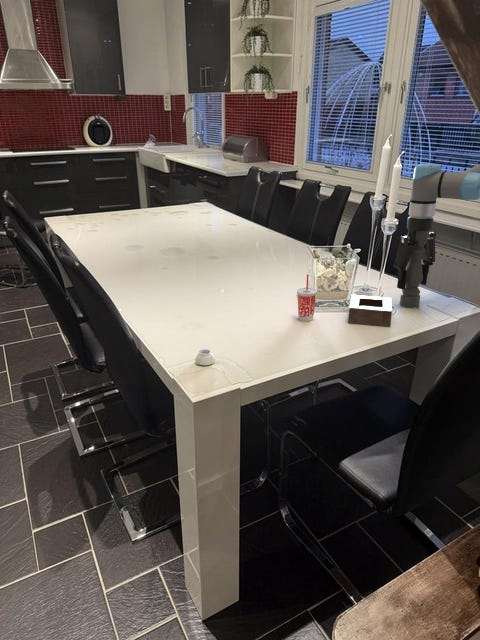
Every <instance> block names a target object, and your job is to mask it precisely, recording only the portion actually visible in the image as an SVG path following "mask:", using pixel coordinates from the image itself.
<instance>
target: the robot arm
mask: <svg viewBox="0 0 480 640" xmlns="http://www.w3.org/2000/svg"><path fill="white" fill-rule="evenodd" d="M438 199H451V200H463V201H477V200H480V164H477V165H475V166H473V167H471V168H468V169H466V170H463V171H442V165H440V164H439V163H438V164H437V163H420V164H417V165H415V167H414V169H413V175H412V179H411V190H410V199H409V206H408V207H409V208H408V215H409V216H408V217H407V222H406V229H407V231H408V232H407V235H404V236H402V235H401V236H400V237H399V244H398V248H397V252H396V256H395V259H394V261H393V268H396V269H397V278H396V279H397V284H396V288H397V289H399V290H401V291H402V290H405V286H406V278H407V270H406V267H407V265H408V263H409V261H410V258H411V256H412V254H413V252H414V251H415V250H416V249H417V246H418V241H419V240H418V241H416V242H415V237H416V231H429V233H428V240H427V241H426V244H425V245H424V246H423V247H424V248H425V252H423V254H422V261H421V262H422V263H421V264H422V273H423V280H422V282H421V283H420V284H419V285H423V286H426V285H427V283H428V275H429V272H430V267H431V266H433V265H434V263H435V262H436V238H437V233H436V232H433V231H432V230H433V226H434V216H435V214H436V206H437V200H438ZM412 246H413V247H412Z"/></svg>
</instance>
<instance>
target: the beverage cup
mask: <svg viewBox="0 0 480 640" xmlns="http://www.w3.org/2000/svg"><path fill="white" fill-rule="evenodd" d="M296 294H297V319H298V320H299V321H302V320H304V321H303V322H310V320H311V321H313V320H314V315H315V308H316V307H315V306H316V297H317V295H318V290H317V289H316V288H312V287H309V274H306V285H305V287H299V288H297V289H296Z"/></svg>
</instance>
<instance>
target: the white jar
mask: <svg viewBox="0 0 480 640" xmlns="http://www.w3.org/2000/svg"><path fill="white" fill-rule="evenodd" d="M194 362H195V363H196V364H197V365H199V366H209V365H213V364H214V363H215V362H216V357H215V356H214V354H213V352H212V350H211V349H210V348H209V349H208V348H203V349H200V350H198V353H197V355H196V356H195V359H194Z"/></svg>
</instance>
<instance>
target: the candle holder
mask: <svg viewBox="0 0 480 640" xmlns="http://www.w3.org/2000/svg"><path fill="white" fill-rule="evenodd" d="M429 232H430V231H416V237H415V242H416V241H418V240H419V241H418V246H417V249H416V250H415V251H414V252H413V254H412V256H411V258H410V261H409V263H408V265H407V267H406V270H407V278H406V286H405V290H402V289H401V293H400V298H399V306H401V307H403V308H408V309H416V308H419V307H420V301H421V295H420V294H421V289H420V288H419V287H420V285H421V284H420V283H421V282H422V280H423V273H422V264H423V263H422V262H423V261H422V254H423V252H425V248H424V247H423V246H424V245H425V244H426V241H427V240H428V233H429ZM412 247H413V246H412Z"/></svg>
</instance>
